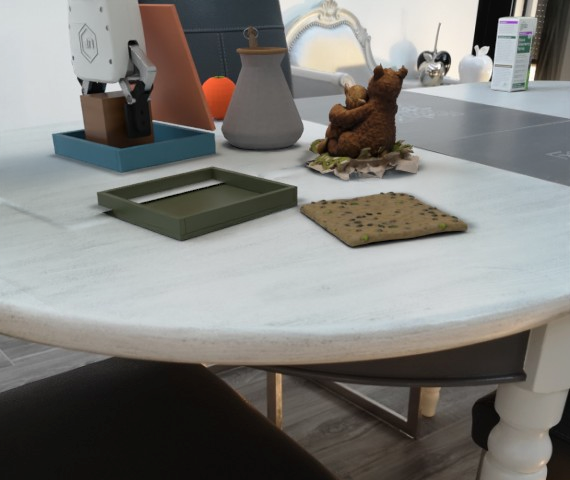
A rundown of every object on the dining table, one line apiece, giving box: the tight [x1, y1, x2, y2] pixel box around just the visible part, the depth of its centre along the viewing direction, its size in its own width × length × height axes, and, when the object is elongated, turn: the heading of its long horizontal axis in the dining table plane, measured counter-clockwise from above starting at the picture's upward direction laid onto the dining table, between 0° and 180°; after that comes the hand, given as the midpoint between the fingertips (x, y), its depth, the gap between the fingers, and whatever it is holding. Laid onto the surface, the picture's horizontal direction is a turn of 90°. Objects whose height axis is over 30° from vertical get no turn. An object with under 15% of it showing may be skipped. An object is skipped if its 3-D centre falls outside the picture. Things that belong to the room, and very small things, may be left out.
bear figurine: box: [305, 62, 420, 181], centre depth 81 cm, size 14×15×12 cm
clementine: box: [201, 74, 236, 120], centre depth 114 cm, size 8×7×7 cm
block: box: [79, 89, 155, 149], centre depth 84 cm, size 7×5×8 cm
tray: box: [96, 165, 299, 242], centre depth 67 cm, size 15×13×2 cm
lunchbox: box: [51, 121, 217, 173], centre depth 87 cm, size 15×16×3 cm
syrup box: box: [490, 15, 538, 93], centre depth 144 cm, size 6×6×14 cm
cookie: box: [299, 191, 468, 247], centre depth 63 cm, size 12×12×1 cm
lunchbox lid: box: [130, 3, 217, 132], centre depth 86 cm, size 15×16×1 cm
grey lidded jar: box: [220, 25, 305, 151], centre depth 94 cm, size 21×12×15 cm, turn 7°
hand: (119, 132), depth 85 cm, fingers open, 8 cm apart
